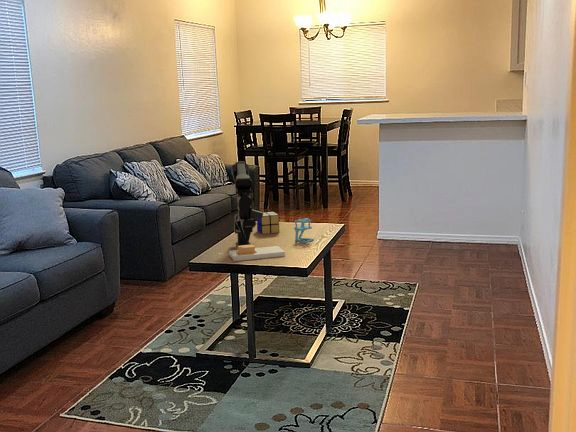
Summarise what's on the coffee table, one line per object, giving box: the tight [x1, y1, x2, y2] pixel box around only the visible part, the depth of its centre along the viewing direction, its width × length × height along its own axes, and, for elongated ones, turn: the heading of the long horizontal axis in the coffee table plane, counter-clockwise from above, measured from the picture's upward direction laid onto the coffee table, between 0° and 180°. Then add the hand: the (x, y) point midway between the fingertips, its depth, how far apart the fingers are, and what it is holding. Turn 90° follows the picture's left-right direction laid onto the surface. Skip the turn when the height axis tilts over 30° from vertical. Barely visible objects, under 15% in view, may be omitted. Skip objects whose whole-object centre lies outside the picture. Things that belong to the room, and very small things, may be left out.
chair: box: [293, 217, 315, 244], centre depth 321 cm, size 8×8×12 cm
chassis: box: [228, 245, 286, 262], centre depth 296 cm, size 12×24×2 cm, turn 107°
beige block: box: [237, 244, 256, 255], centre depth 295 cm, size 5×7×5 cm
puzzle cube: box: [256, 211, 280, 235], centre depth 345 cm, size 10×10×10 cm
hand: (245, 237), depth 293 cm, fingers open, 9 cm apart
